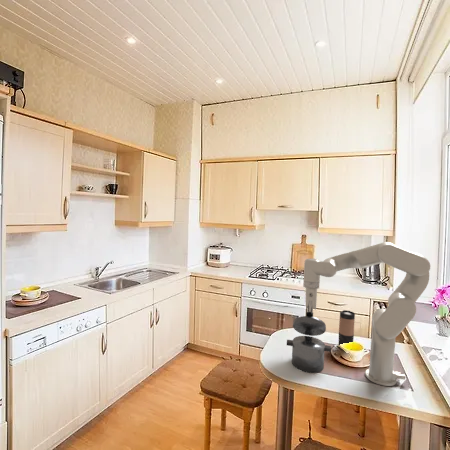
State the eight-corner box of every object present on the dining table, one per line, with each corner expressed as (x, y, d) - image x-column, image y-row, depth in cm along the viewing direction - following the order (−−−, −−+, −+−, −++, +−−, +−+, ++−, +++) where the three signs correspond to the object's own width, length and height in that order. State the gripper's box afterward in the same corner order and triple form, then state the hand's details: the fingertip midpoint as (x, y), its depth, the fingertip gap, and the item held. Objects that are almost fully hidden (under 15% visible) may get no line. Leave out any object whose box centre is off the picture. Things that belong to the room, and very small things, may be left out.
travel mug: (354, 352, 159) (356, 315, 157) (339, 350, 160) (341, 314, 159) (351, 345, 166) (353, 310, 165) (336, 344, 168) (338, 309, 166)
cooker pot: (328, 358, 151) (329, 337, 150) (330, 376, 135) (332, 353, 134) (287, 352, 157) (288, 332, 156) (284, 368, 141) (285, 346, 140)
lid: (324, 338, 150) (324, 332, 153) (327, 321, 139) (327, 315, 142) (292, 333, 155) (293, 328, 157) (293, 317, 144) (293, 311, 146)
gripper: (319, 289, 137) (317, 327, 138) (319, 281, 151) (317, 316, 153) (302, 287, 139) (300, 325, 140) (303, 279, 154) (302, 314, 155)
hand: (309, 320), depth 147 cm, fingers closed
